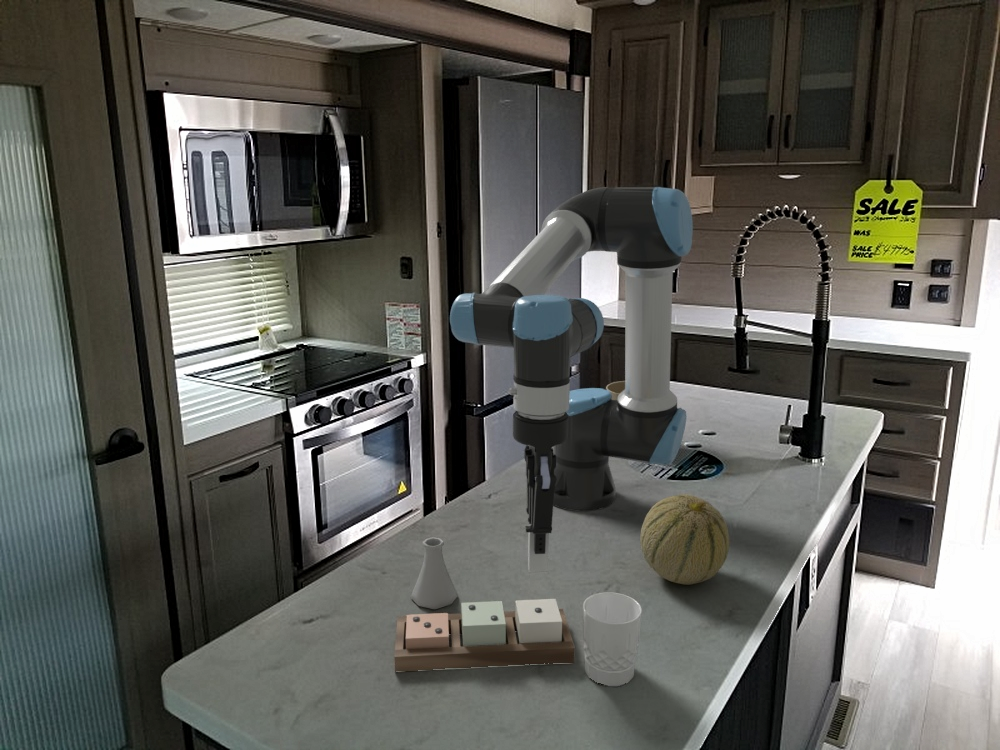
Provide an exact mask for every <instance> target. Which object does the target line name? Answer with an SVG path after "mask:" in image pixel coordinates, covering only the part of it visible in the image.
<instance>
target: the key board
mask: <svg viewBox="0 0 1000 750" xmlns="http://www.w3.org/2000/svg"><path fill="white" fill-rule="evenodd" d="M558 609H559V612H560V616H561V619H562V641H559V642H538V643H518V641H517V636H516V632H515V631H517V626H516V621H515V610H509V611H504V616H505V623H506V644H496V645H476V646H461V636H460V635H462V615H461V613H460V612H459V613H448V629H449V634H451V635H450V645H451V646H449V647H443V648H423V649H406V648H405V647H406V623H407V615H399V616H397V618H396V619H397V620H396V631H395V632H396V634H395V642H394V643H395V644H394V658H393V659H394V673H395V672H396V671H418V670H433V669H445V668H471V667H488V666H508V665H525V664H529V665H530V664H544V663H545V664H548V663H549V664H553V663H574V664H575V652H576V651H575V649H576V647H575V644H574V642H573V639H572V634H571V632H570V628H569V625H568V621H567V618H566V616H565V612H564V609H563V608H558ZM404 646H405V647H404ZM418 672H419V671H418Z"/></svg>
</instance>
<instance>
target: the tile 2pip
mask: <svg viewBox="0 0 1000 750" xmlns="http://www.w3.org/2000/svg"><path fill="white" fill-rule="evenodd" d="M460 604H461V606H460V607H461V609H460V610H461V611H460V612H461V615H462V634H461V636H462V647H464V646H485V645H506V623H505V616H504V612H505V611H504V607H503V601H502V600H500V601H499V600H497V601H496V600H495V601H473V602H472V601H471V602H461V603H460Z"/></svg>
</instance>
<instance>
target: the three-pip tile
mask: <svg viewBox="0 0 1000 750" xmlns="http://www.w3.org/2000/svg"><path fill="white" fill-rule="evenodd" d="M448 614H449V613H448V612H443V613H442V612H440V613H439V612H438V613H437V612H436V613H435V612H434V613H418V614H414V613H413V614H407V615H406V616H407V623H406V637H405V649H423V648H443V647H450V641H449V640H450V635H449V629H448Z"/></svg>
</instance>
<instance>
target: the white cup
mask: <svg viewBox="0 0 1000 750" xmlns="http://www.w3.org/2000/svg"><path fill="white" fill-rule="evenodd" d="M642 612H643V609H642V606H641V604H640V603H639V601H637V600H636V599H634V598H633V597H631V596H628V595H626V594H623V593H619V592H610V591H608V592H607V591H606V592H605V591H604V592H598V593H594V594H591V595H590V596H588V597H587V598H586V599H585V600H584V602H583V603H582V622H583V623H582V624H583V625H582V626H583V627H582V628H583V629H582V630H583V631H582V633H583V635H582V636H583V652H584V672H585V673H586V675H587V677H588V678H589V679H590V678H591V679H592V680H591V679H590V680H591V681H593V680H594V681H595V683H596V682H597V683H596V684H598V683H601V684H605V685H608V686H607V687H620V685H621V686H623V685H626V684H628V683H629V682H630V681H631V680H632V679H634V675H635V665H636V660H637V656H638V649H639V642H640V631H641V624H642V614H643V613H642ZM594 681H593V682H594ZM625 683H626V684H625ZM601 684H600V685H601ZM605 685H604V686H605ZM612 685H614V686H612Z"/></svg>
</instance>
